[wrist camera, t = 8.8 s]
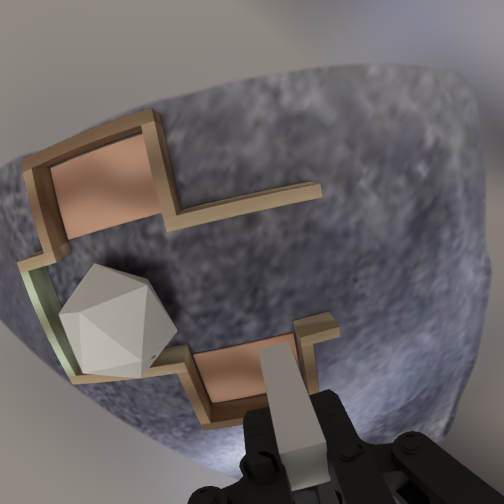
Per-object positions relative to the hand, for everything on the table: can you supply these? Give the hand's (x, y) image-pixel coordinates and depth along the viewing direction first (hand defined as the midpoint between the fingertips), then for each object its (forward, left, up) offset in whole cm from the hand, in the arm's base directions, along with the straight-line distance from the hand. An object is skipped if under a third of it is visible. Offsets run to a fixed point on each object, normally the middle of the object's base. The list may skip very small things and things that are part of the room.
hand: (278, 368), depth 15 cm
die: (0, +11, -13) cm, 17 cm away
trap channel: (+1, +6, -12) cm, 14 cm away
